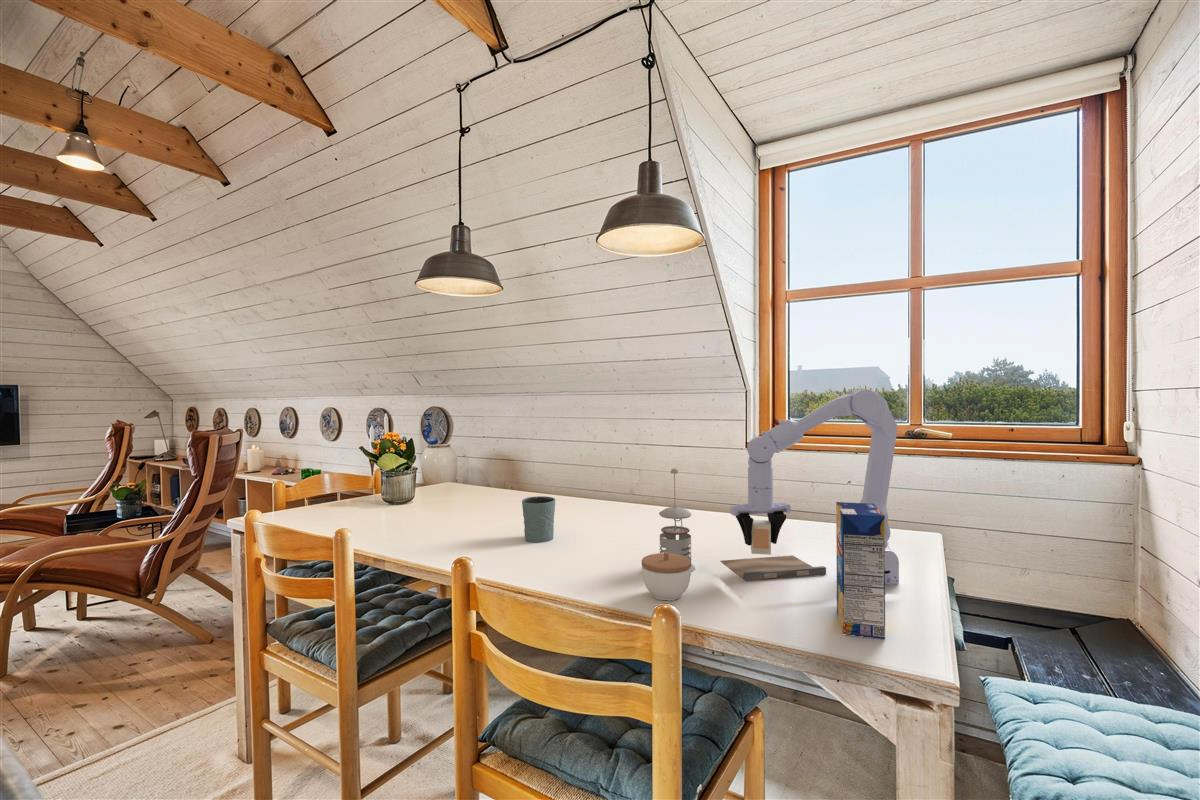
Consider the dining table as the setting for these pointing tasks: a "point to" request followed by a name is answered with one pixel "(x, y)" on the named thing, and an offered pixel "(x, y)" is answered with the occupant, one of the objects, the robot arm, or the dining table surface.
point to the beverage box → (860, 569)
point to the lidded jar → (666, 575)
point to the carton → (761, 537)
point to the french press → (676, 531)
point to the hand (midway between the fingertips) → (760, 543)
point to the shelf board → (772, 568)
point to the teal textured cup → (538, 518)
